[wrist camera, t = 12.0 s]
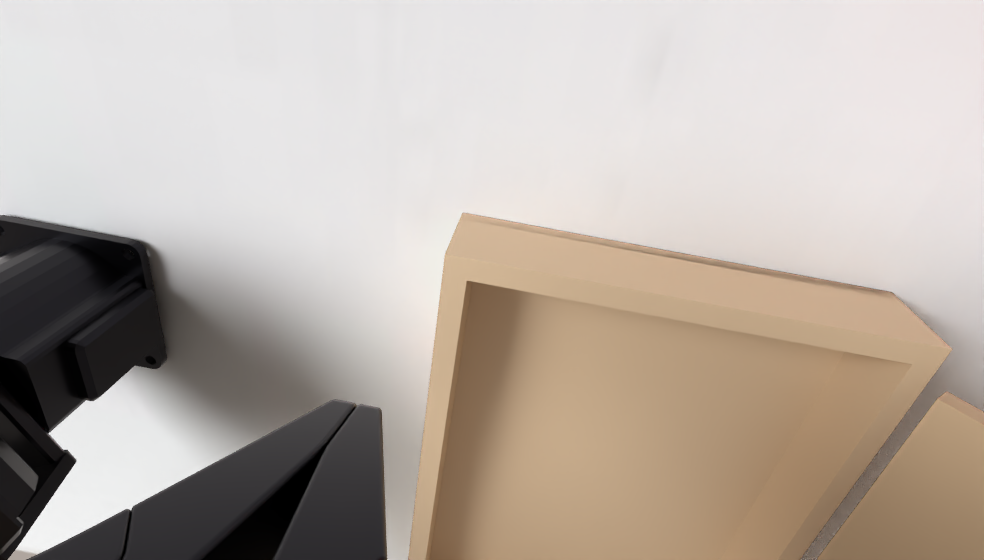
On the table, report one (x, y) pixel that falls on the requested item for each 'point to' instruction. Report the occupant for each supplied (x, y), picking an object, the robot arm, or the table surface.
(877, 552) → the carton flap
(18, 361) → the robot arm
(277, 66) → the table surface
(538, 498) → the carton
